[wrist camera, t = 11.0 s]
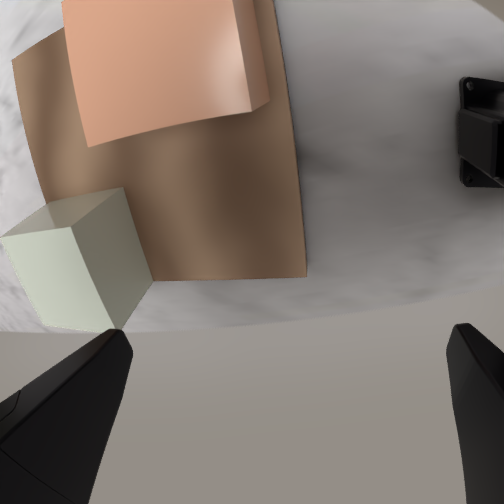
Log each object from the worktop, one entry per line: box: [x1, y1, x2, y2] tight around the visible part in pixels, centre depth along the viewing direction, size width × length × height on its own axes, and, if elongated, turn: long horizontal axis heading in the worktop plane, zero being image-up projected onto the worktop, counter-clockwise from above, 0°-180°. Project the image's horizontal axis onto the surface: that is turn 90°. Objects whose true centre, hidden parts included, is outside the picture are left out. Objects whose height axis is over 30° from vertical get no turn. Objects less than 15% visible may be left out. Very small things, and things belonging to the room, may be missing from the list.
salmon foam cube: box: [61, 0, 270, 147], centre depth 12 cm, size 7×7×6 cm
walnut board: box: [12, 0, 307, 281], centre depth 18 cm, size 18×18×1 cm
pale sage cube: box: [0, 187, 153, 333], centre depth 19 cm, size 7×7×6 cm
